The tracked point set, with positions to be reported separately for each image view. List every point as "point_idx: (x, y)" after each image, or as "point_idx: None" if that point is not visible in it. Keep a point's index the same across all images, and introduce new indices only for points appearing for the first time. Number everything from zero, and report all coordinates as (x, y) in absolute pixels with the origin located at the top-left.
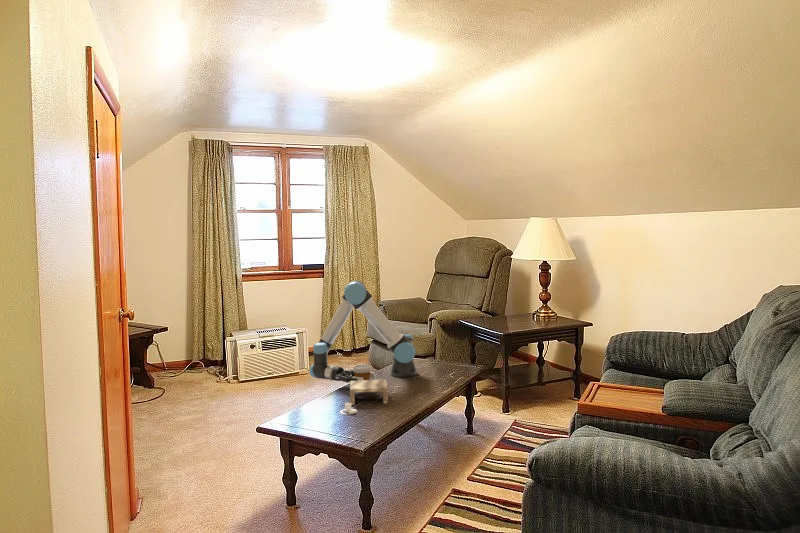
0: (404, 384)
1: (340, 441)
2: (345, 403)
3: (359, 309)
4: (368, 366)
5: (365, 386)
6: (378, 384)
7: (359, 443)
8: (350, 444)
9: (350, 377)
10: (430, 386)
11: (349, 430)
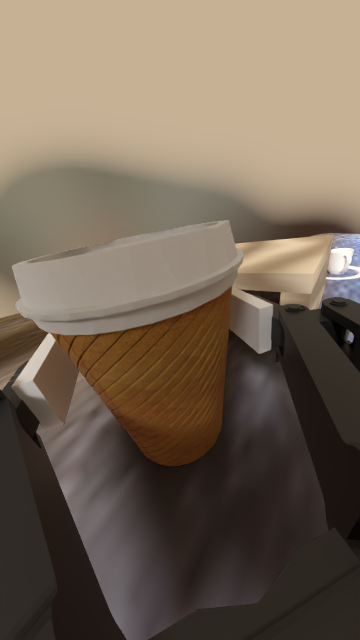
0: (8, 369)
1: (357, 234)
2: (350, 251)
3: None
4: (59, 258)
5: (259, 246)
6: None
7: (325, 235)
8: (339, 234)
9: (297, 305)
10: (32, 326)
11: (339, 243)
